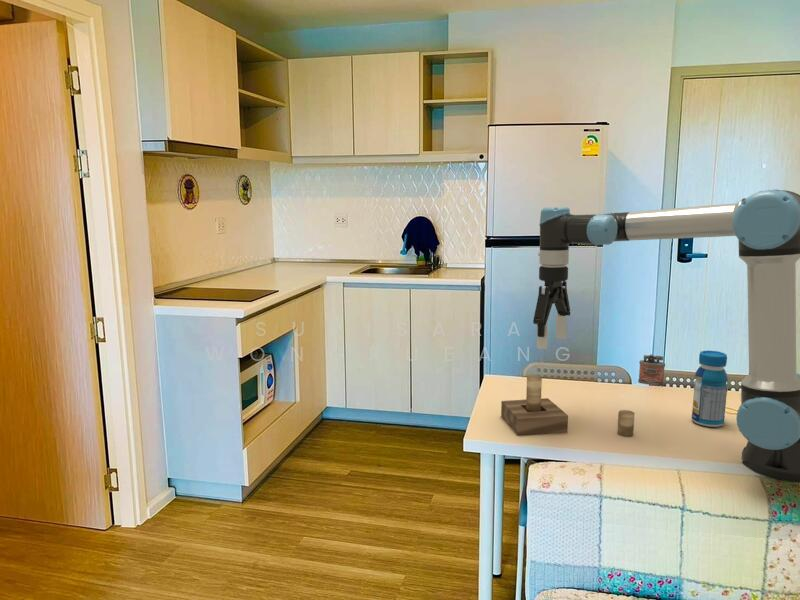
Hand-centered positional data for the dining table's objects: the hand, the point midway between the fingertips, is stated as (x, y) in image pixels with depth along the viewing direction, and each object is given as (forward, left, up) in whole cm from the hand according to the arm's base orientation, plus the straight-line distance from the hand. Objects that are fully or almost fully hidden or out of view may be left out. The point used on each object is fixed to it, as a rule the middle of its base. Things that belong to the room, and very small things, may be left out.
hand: (551, 343), depth 161 cm
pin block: (+1, +4, -23) cm, 24 cm away
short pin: (-9, -18, -24) cm, 31 cm away
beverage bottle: (-5, -45, -24) cm, 51 cm away
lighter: (+30, -49, -24) cm, 62 cm away
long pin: (+1, +4, -24) cm, 24 cm away
